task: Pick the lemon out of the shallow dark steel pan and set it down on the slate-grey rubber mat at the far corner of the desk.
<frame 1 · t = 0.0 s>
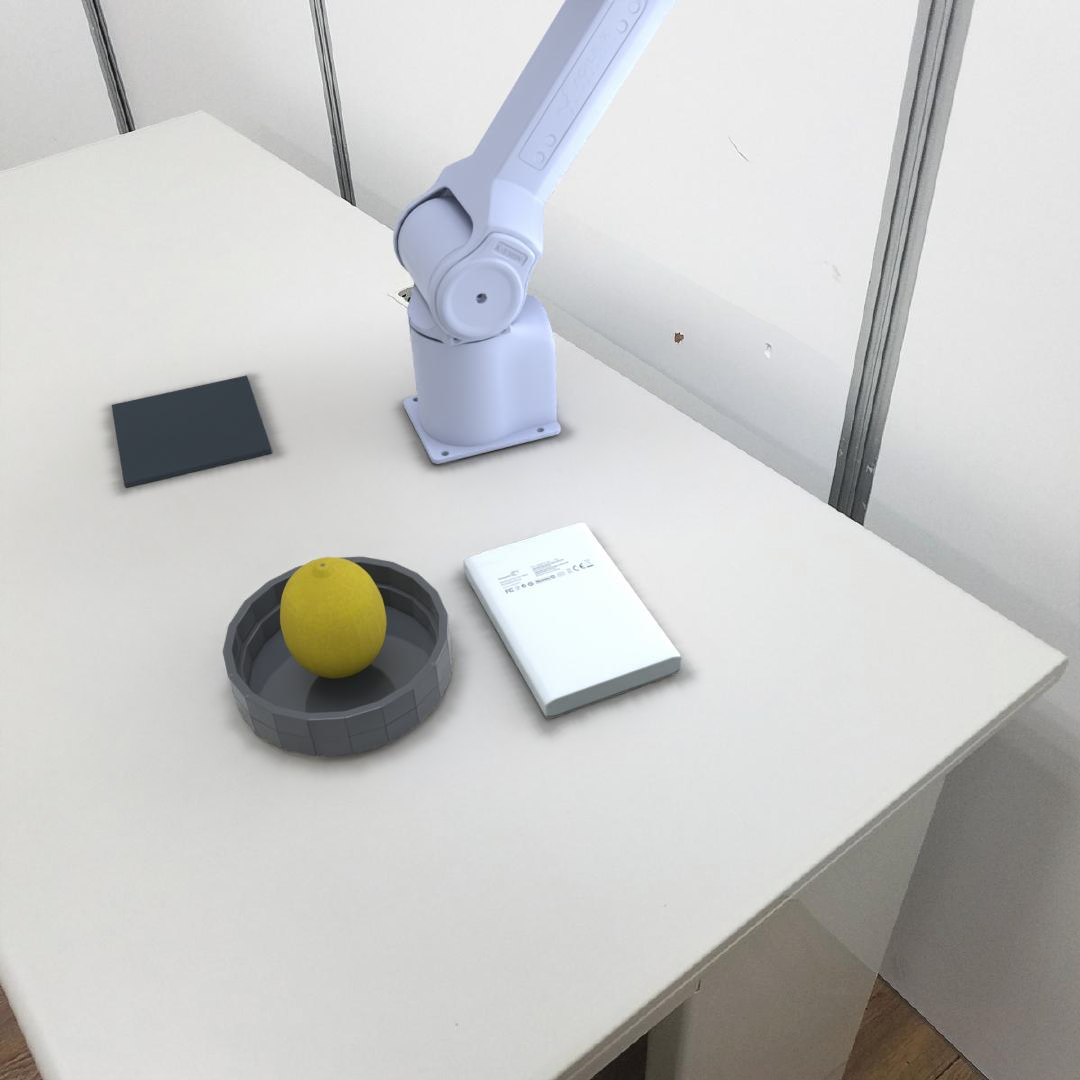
hard drive: (567, 624, 65), on the table
mat: (190, 430, 80), on the table
pan: (345, 673, 62), on the table
lemon: (345, 671, 62), resting on pan
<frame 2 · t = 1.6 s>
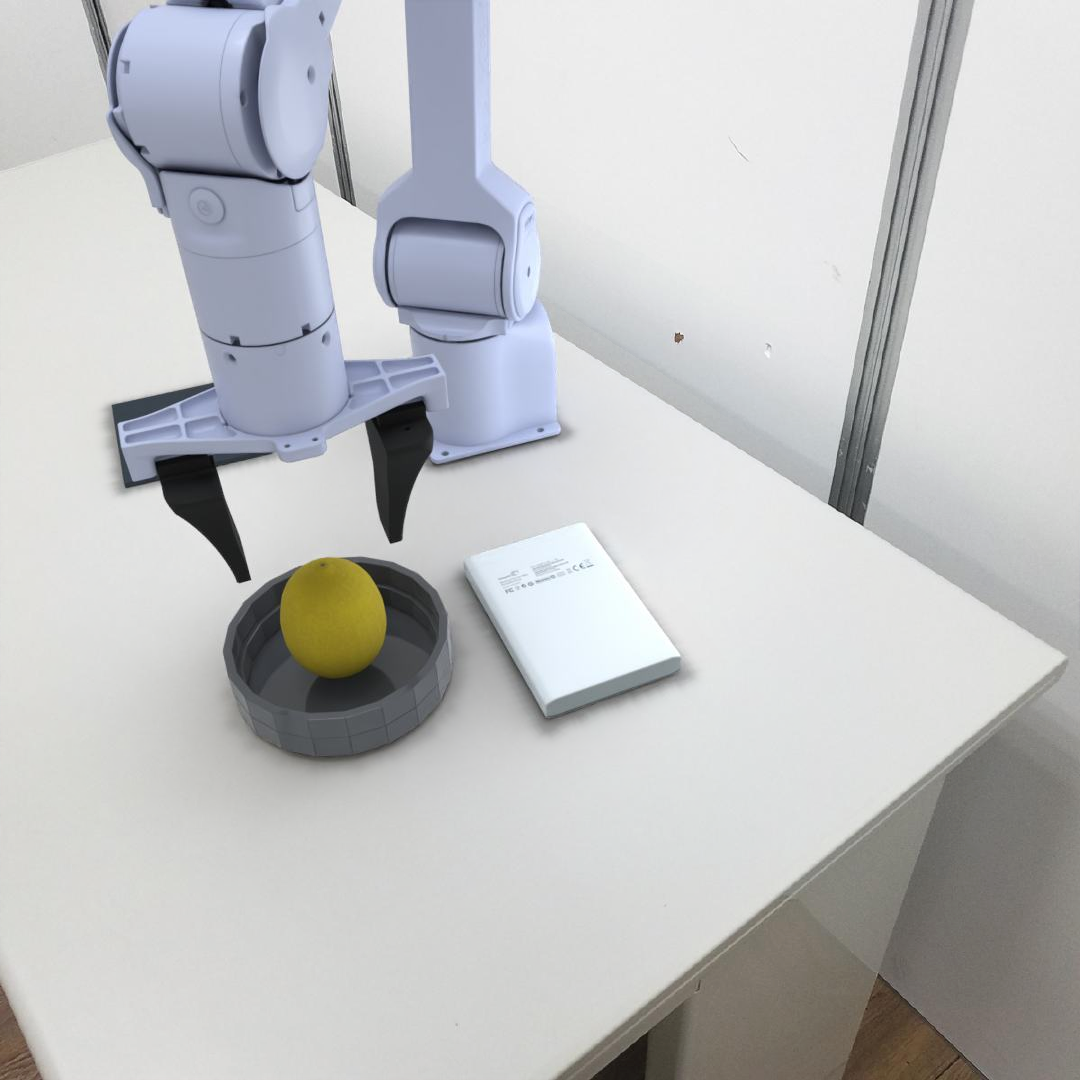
hand: (317, 549, 56), 9 cm above the table, tool pointing down, fingers open, 7 cm apart
nothing on the table moved.
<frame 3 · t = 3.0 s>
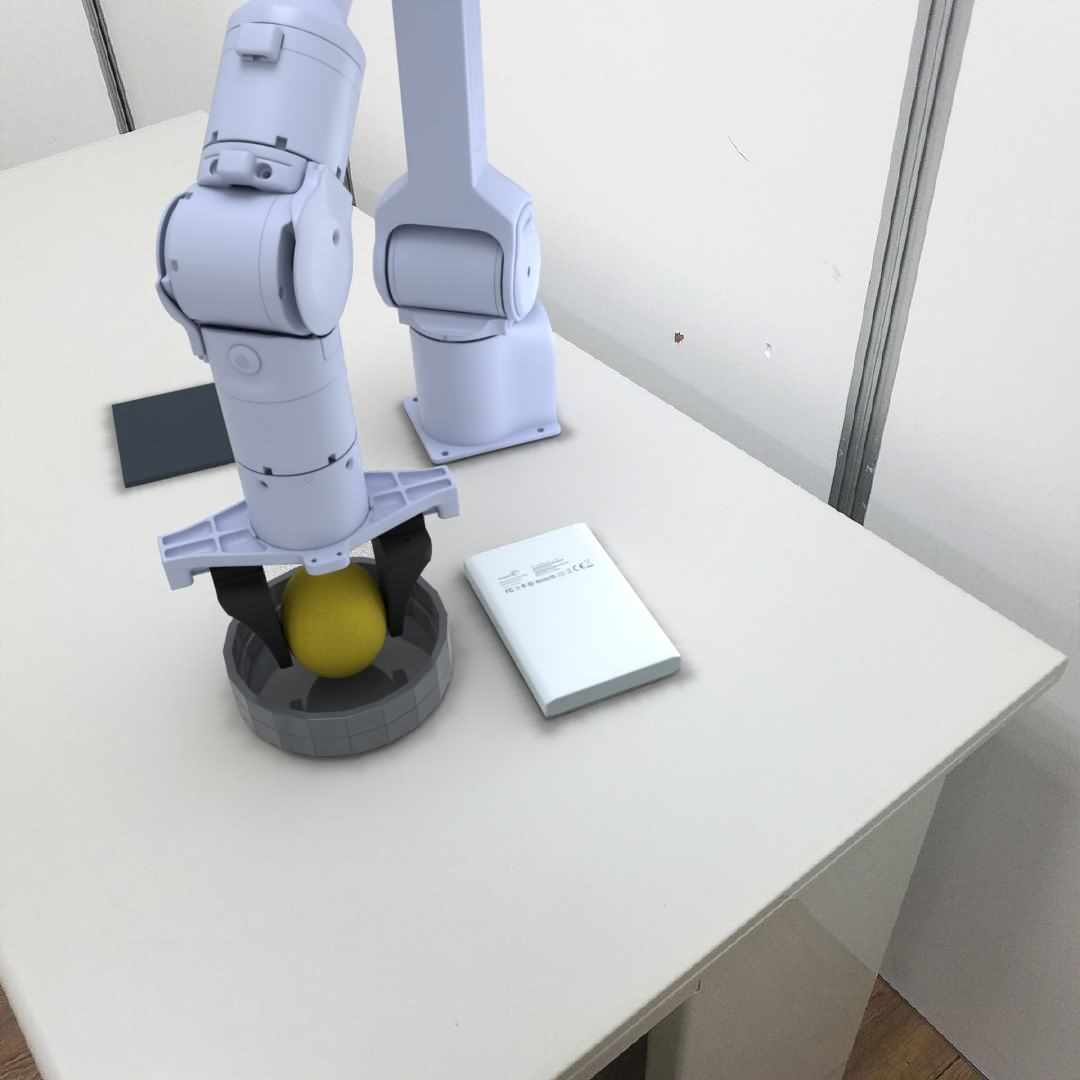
hand: (338, 639, 60), 3 cm above the table, tool pointing down, fingers closed on lemon, 5 cm apart
lemon: (345, 671, 62), resting on pan, touching gripper
everything else where it was.
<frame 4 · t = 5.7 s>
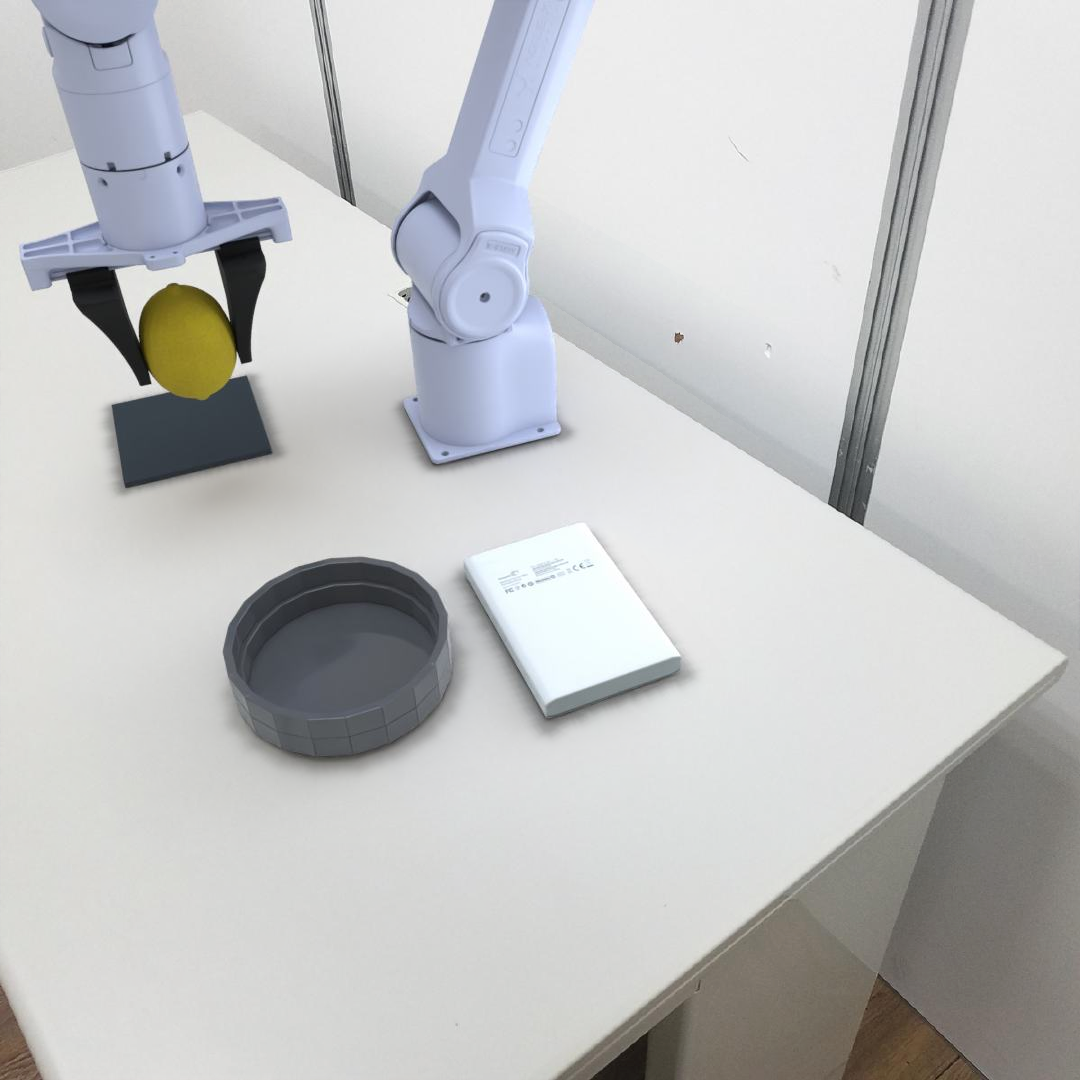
hand: (193, 366, 68), 10 cm above the table, tool pointing down, fingers closed on lemon, 5 cm apart
lemon: (204, 401, 70), point 7 cm above the table, touching gripper
everything else where it was.
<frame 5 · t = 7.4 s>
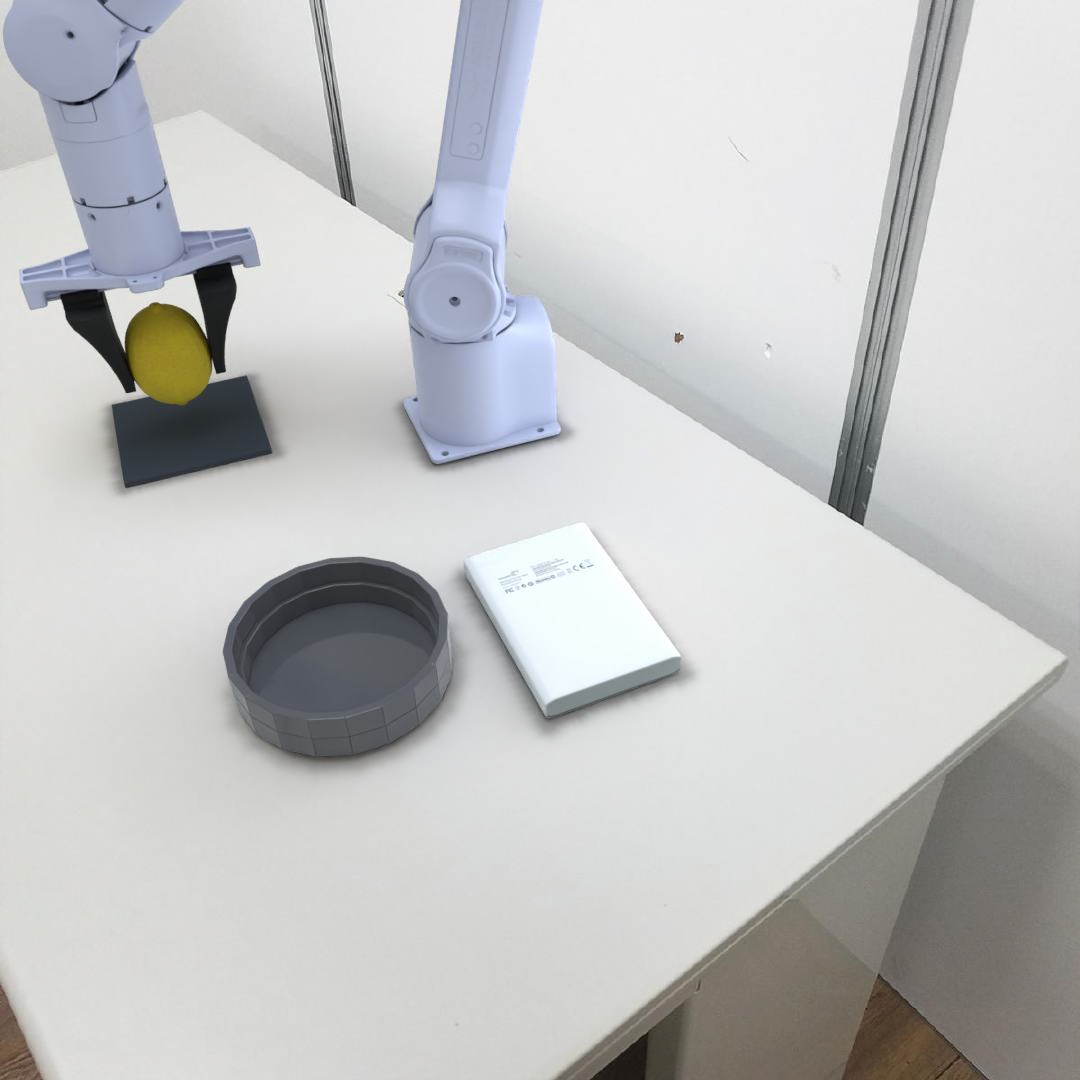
hand: (174, 375, 77), 5 cm above the table, tool pointing down, fingers closed on lemon, 5 cm apart
lemon: (183, 406, 79), point 2 cm above the table, touching gripper
everything else where it was.
when the fingers open (3 cm above the table, at t = 8.6 s): lemon stays where it is, resting on mat.
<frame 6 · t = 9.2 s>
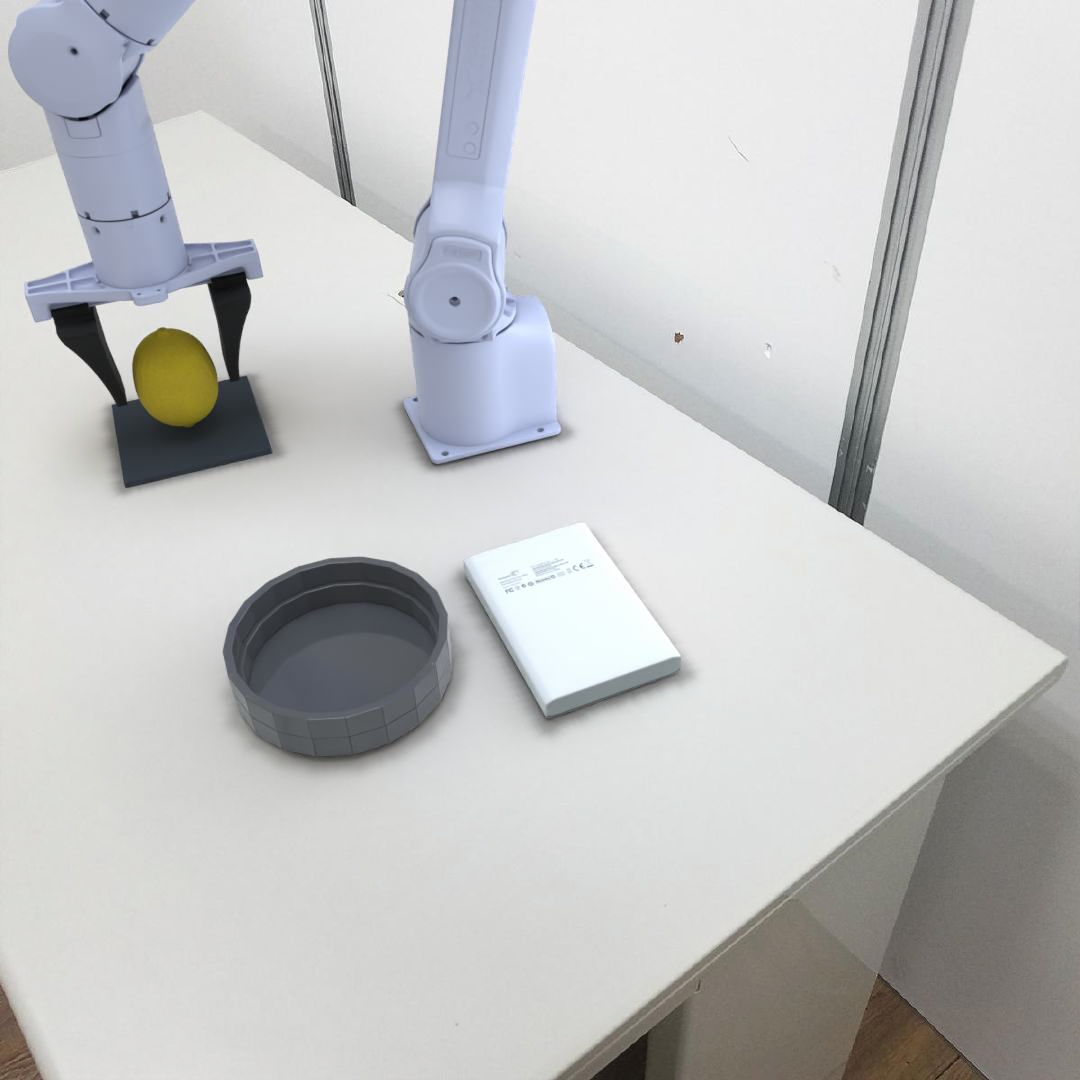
hand: (177, 386, 77), 4 cm above the table, tool pointing down, fingers open, 7 cm apart
lemon: (190, 428, 80), resting on mat
everything else where it was.
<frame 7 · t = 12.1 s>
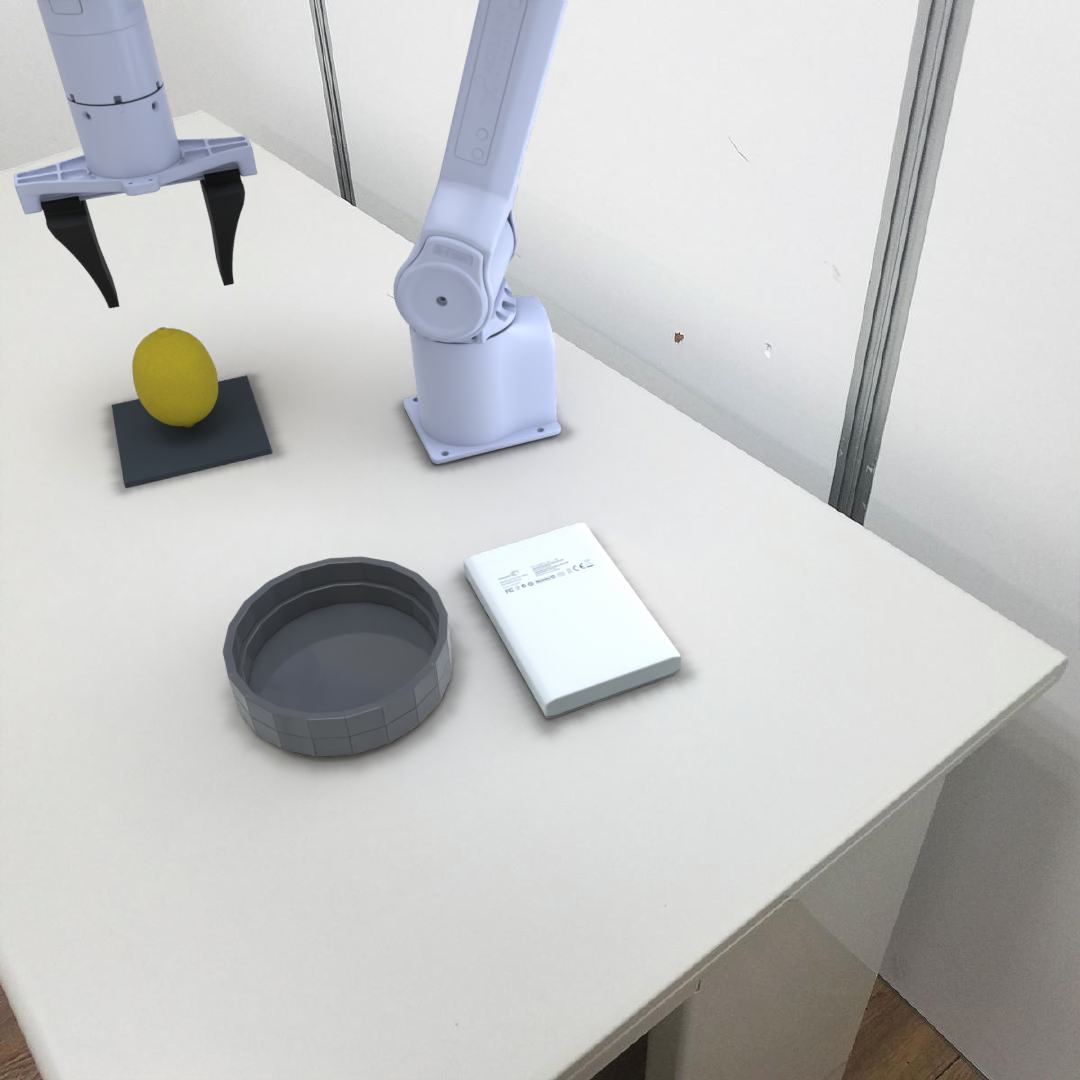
hand: (170, 289, 76), 9 cm above the table, tool pointing down, fingers open, 7 cm apart
nothing on the table moved.
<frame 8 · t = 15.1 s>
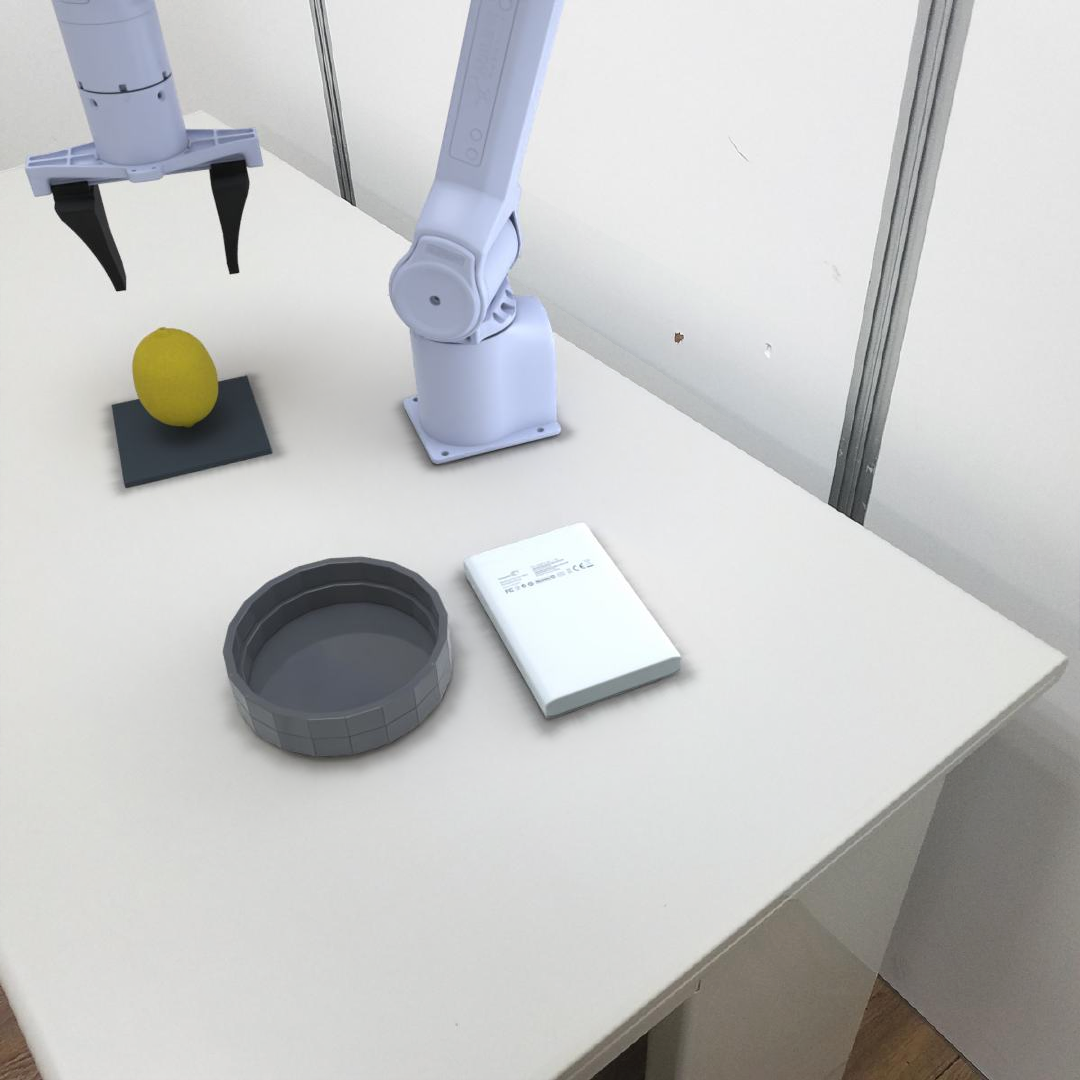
hand: (177, 275, 78), 9 cm above the table, tool pointing down, fingers open, 7 cm apart
nothing on the table moved.
at the end: lemon inside the target area on the mat (0.0 cm from its centre), point 0.2 cm above the mat's base; lemon touching mat; the gripper is holding nothing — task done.
